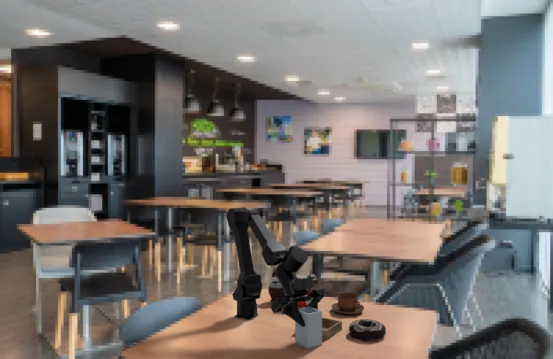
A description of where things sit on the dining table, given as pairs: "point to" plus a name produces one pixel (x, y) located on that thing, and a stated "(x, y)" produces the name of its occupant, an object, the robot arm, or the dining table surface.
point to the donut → (367, 329)
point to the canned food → (303, 304)
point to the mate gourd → (275, 289)
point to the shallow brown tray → (330, 327)
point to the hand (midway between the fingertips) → (311, 324)
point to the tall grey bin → (309, 328)
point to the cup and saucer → (348, 304)
